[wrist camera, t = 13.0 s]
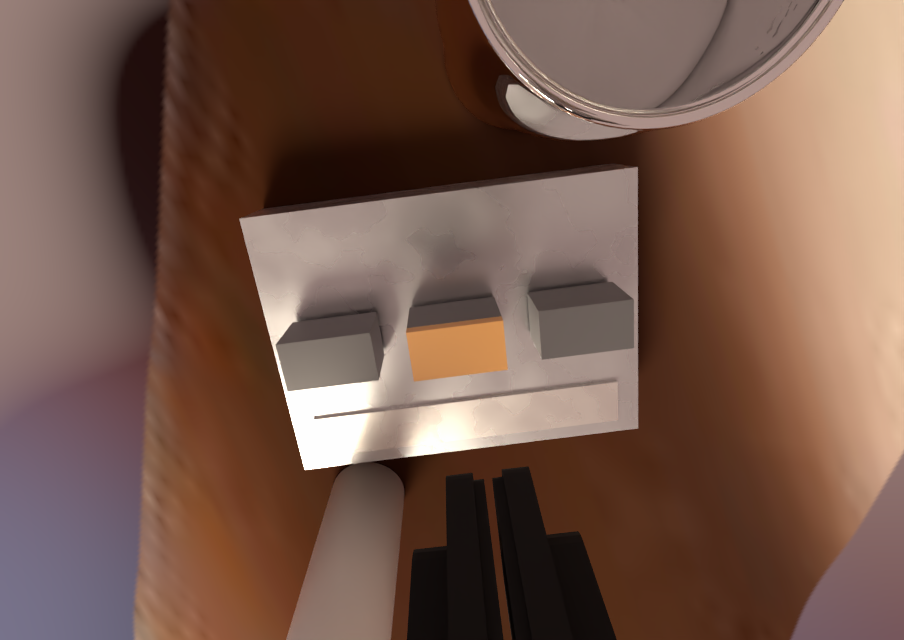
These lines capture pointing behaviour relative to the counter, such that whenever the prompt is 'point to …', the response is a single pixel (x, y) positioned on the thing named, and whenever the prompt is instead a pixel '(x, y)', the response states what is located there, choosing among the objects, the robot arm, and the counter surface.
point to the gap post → (354, 559)
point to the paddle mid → (456, 339)
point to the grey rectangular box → (331, 352)
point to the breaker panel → (450, 280)
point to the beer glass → (618, 60)
